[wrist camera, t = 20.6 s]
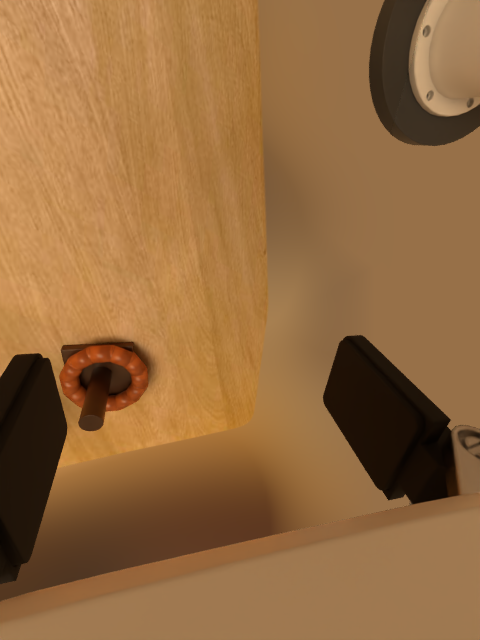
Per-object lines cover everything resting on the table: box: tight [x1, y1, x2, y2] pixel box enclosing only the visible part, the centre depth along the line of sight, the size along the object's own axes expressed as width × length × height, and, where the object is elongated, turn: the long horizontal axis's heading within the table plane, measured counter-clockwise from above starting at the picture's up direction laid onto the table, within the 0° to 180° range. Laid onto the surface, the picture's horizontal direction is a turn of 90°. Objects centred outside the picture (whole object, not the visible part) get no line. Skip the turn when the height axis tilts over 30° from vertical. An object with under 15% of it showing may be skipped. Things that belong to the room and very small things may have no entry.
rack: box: [61, 342, 134, 431], centre depth 36 cm, size 8×8×9 cm
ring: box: [59, 345, 148, 412], centre depth 38 cm, size 10×10×2 cm
